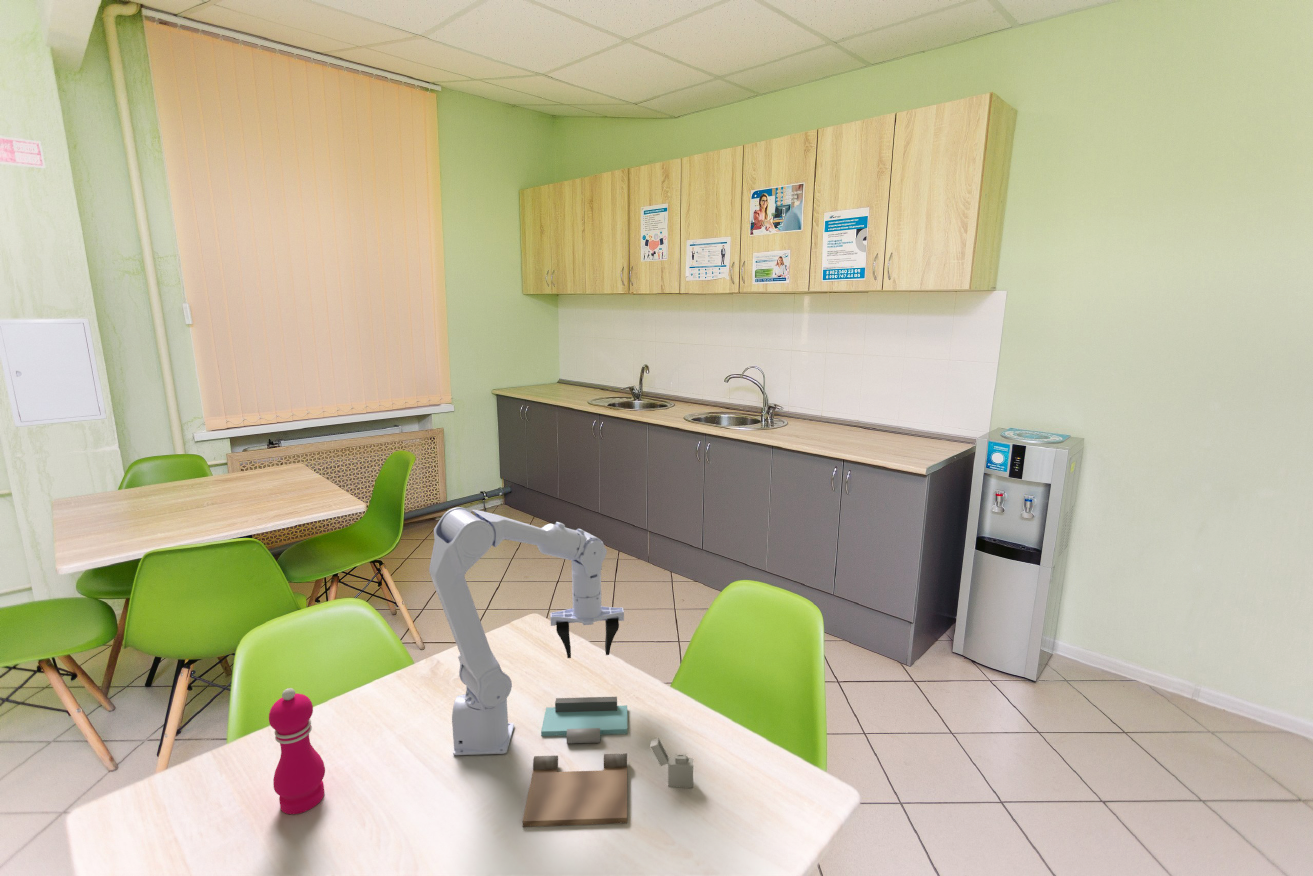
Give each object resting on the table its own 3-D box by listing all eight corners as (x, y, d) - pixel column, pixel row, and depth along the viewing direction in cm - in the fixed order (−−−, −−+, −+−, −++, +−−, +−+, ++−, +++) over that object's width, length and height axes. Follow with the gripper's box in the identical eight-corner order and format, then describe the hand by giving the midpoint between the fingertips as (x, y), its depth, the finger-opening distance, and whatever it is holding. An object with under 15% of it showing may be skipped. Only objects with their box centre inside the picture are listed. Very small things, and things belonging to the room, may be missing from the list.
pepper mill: (275, 824, 96) (258, 708, 92) (278, 792, 102) (262, 683, 98) (327, 807, 99) (313, 695, 95) (327, 777, 105) (314, 671, 101)
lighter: (693, 780, 105) (693, 738, 103) (692, 788, 103) (693, 746, 101) (651, 778, 105) (651, 736, 104) (650, 785, 104) (650, 743, 102)
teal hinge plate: (539, 747, 113) (538, 732, 112) (546, 712, 123) (545, 698, 122) (627, 744, 113) (627, 730, 113) (627, 710, 123) (627, 696, 123)
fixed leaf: (522, 826, 95) (522, 813, 95) (535, 765, 108) (534, 753, 108) (627, 823, 96) (626, 810, 96) (627, 762, 109) (627, 750, 108)
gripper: (549, 603, 118) (551, 668, 121) (625, 598, 120) (625, 662, 123) (550, 587, 125) (552, 648, 128) (621, 582, 127) (622, 643, 130)
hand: (588, 654), depth 126 cm, fingers open, 7 cm apart
